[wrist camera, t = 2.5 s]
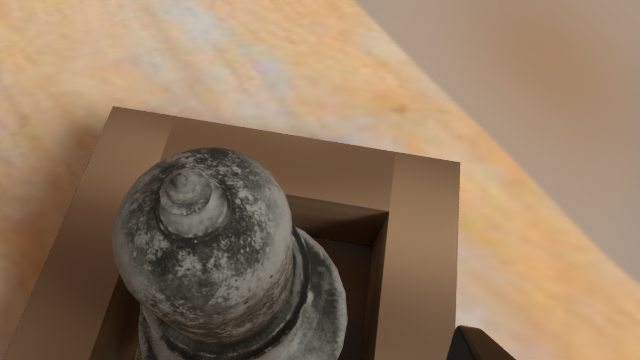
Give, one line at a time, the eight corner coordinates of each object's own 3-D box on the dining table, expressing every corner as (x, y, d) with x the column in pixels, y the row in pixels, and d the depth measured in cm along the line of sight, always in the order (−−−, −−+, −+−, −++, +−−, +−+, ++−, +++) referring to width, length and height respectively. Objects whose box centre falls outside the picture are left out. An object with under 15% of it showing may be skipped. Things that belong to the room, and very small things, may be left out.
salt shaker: (136, 386, 16) (-208, 325, 5) (213, 229, 18) (95, -37, 7) (304, 453, 15) (325, 549, 4) (358, 281, 18) (458, 71, 7)
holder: (411, 577, 14) (445, 625, 11) (11, 502, 14) (-70, 527, 11) (433, 203, 19) (460, 162, 16) (142, 155, 19) (113, 106, 16)
